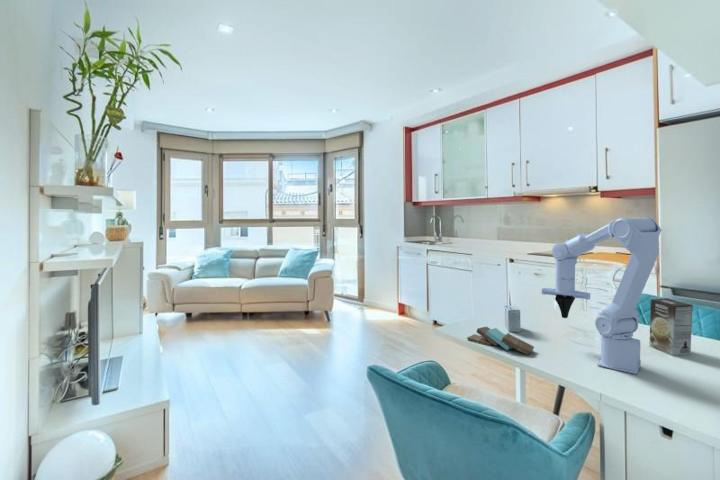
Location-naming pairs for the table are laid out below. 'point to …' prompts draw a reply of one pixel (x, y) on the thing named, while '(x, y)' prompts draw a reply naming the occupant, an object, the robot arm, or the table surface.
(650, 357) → the table surface
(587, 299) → the robot arm
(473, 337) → the end domino
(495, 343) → the domino
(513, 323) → the medicine box
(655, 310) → the coffee box
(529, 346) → the domino
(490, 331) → the domino
